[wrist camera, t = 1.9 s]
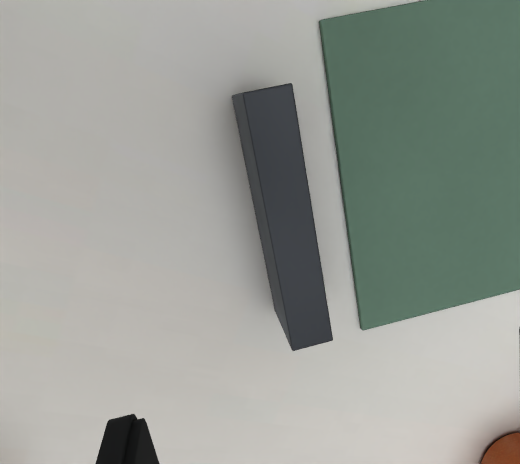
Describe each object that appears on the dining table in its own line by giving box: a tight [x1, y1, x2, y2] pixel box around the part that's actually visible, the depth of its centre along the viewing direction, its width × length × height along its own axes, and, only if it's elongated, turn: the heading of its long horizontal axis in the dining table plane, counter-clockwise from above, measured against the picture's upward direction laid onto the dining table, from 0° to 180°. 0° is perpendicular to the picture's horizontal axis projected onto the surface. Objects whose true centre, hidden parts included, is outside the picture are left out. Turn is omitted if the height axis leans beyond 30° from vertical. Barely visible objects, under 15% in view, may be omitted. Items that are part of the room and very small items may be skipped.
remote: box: [232, 83, 333, 351], centre depth 25 cm, size 14×3×5 cm, turn 11°
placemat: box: [319, 0, 520, 330], centre depth 28 cm, size 20×13×1 cm, turn 11°
